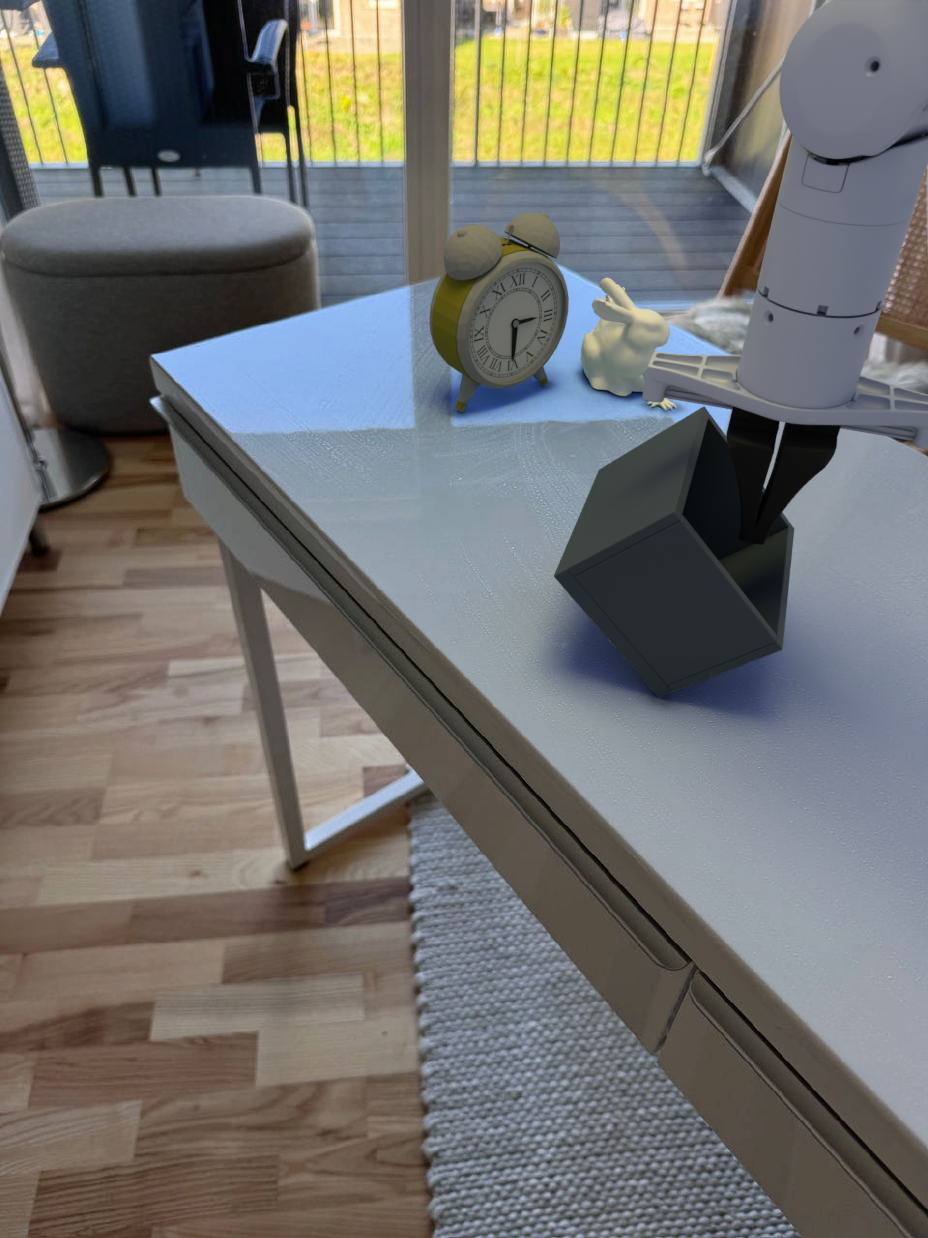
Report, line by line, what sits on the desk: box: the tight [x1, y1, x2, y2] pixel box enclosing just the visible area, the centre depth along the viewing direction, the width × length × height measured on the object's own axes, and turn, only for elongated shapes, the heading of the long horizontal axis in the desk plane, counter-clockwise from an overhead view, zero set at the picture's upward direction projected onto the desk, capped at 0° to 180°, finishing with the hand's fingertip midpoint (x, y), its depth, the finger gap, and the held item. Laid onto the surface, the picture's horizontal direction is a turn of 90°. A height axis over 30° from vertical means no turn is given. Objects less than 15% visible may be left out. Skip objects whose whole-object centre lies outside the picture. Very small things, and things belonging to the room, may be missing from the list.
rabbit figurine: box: [580, 277, 677, 411], centre depth 81 cm, size 12×8×10 cm, turn 18°
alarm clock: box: [429, 211, 570, 412], centre depth 78 cm, size 12×7×15 cm, turn 126°
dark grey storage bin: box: [553, 406, 795, 699], centre depth 54 cm, size 8×12×10 cm
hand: (752, 533), depth 52 cm, fingers closed
